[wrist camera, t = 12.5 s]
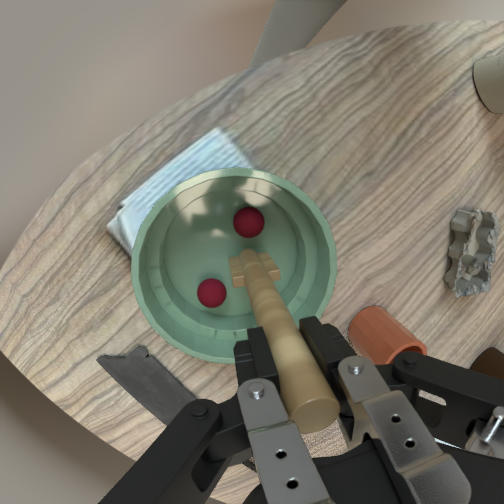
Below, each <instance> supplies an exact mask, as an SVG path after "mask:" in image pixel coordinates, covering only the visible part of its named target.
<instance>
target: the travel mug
mask: <svg viewBox="0 0 504 504" xmlns="http://www.w3.org/2000/svg"><path fill="white" fill-rule="evenodd" d="M473 74H474V81H475V85H476V88H477V91H478V93H479V95H480V97H481V99H482V101H483V103H484V104H485V106H486V107H487V108H488V109H489V110H490V111H491V112H493V113H495V114H501V113H504V54H501V55H497V56H493V57H488V58H484V59H480V60H477V61H476V62H475V65H474V70H473Z"/></svg>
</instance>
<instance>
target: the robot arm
mask: <svg viewBox="0 0 504 504" xmlns="http://www.w3.org/2000/svg"><path fill="white" fill-rule="evenodd" d="M246 330H247V336H248V340H243V341H237V342H236V344H235V346H234V348H233V352H234V359H235V366H236V372H237V379H238V390H237V393H236V394H235V395H234V396H233V397H232V398H231V399H229V400H227V401H225V402H223V403H220V404H217V403H215V402H214V401H212V400H208V399H198V400H194V401H191V402H189V403H188V404H186V405H185V406H184V407H183V408H182V409H181V411H180V412H179V413H178V414H177V415H176V417H175V418H174V419H173V420H172V421H171V423H170V424H169V425H168V426H167V427H166V428H165V430H164V431H163V432H162V433H161V434H160V435H159V437H158V438H157V439H156V440H155V441H154V442H153V443H152V445H151V446H150V447H149V448H148V449H147V450H146V452H145V453H144V454H143V455H142V456H141V457H140V458H139V459H138V461H137V462H136V463H135V464H134V465H133V466H132V467H131V469H130V470H129V471H128V472H127V473H126V474H125V475H124V476H123V477H122V478H121V480H120V481H119V482H118V483H117V484H116V485H115V486H114V487H113V488H112V489H111V490H110V491H109V492H108V493H107V495H106V496H105V497H104V498H103V499H102V500H101V501H100V502H99V503H98V504H204V503H205V502H206V500H207V499H208V497H209V496H210V494H211V493H212V491H213V490H214V488H215V487H216V485H217V483H218V482H219V480H220V479H221V477H222V475H223V474H224V472H225V470H226V469H227V467H228V466H229V464H230V462H231V461H232V459H233V455H235V454H237V453H240V452H242V451H244V450H247V449H249V448H251V452H252V456H253V459H254V463H255V466H256V470H257V473H258V477H259V480H260V484H259V485H258V486H256V487H255V488H254V489H253V490H252V492H251V493H250V494H249V495H248V497H247V498H246V499H245V501H244V502H243V504H504V380H501V379H498V378H495V377H492V376H488V375H485V374H482V373H479V372H475V371H472V370H469V369H466V368H463V367H460V366H457V365H454V364H451V363H448V362H445V361H442V360H439V359H436V358H433V357H430V356H427V355H424V354H421V353H418V352H414V351H405V352H401V353H399V354H398V355H396V356H395V358H394V361H393V364H382V365H374V364H373V363H372V361H371V360H370V359H368V358H366V357H363V356H358V355H357V354H356V353H355V351H354V350H353V349H352V347H351V346H350V345H349V343H348V342H347V341H346V340H345V338H344V337H343V336H342V335H341V333H340V332H339V330H338V329H337V328H336V327H334V326H332V325H330V324H329V323H327V324H323V325H322V324H321V323H320V321H319V320H318V318H317V317H316V316H311V317H306V318H301V319H299V330H300V332H301V334H302V336H303V337H304V339H305V341H306V343H307V345H308V347H309V348H310V350H311V352H312V354H313V356H314V358H315V360H316V361H317V363H318V365H319V367H320V369H321V371H322V372H323V374H324V376H325V378H326V380H327V382H328V383H329V385H330V387H331V389H332V391H333V393H334V394H335V396H336V398H337V400H338V402H339V404H340V413H339V416H338V417H337V421H338V424H339V426H340V429H341V432H342V434H343V437H344V439H345V442H346V444H347V447H348V452H346V453H344V454H342V455H339V456H331V457H318V458H311V456H310V454H309V451H308V449H307V447H306V445H305V443H304V441H303V439H302V436H301V434H300V432H299V430H298V428H297V425H296V423H295V422H294V420H290V419H289V417H288V415H287V413H286V410H285V408H284V406H283V403H282V401H281V399H280V393H281V392H280V382H279V374H278V371H277V368H276V365H275V362H274V359H273V356H272V353H271V350H270V347H269V344H268V341H267V338H266V335H265V332H264V329H263V327H262V326H260V327H254V328H249V329H246ZM420 390H423V391H425V392H428V393H431V394H433V395H436V396H438V397H441V398H443V399H444V400H445V401H446V406H444V405H441V404H438V403H436V402H433V401H430V400H428V399H425V398H423V397H420V396H418V395H419V392H420ZM433 437H434V438H437V439H439V440H441V441H444V442H446V443H449V444H451V445H454V446H456V447H459V448H456V447H452V446H449V445H445V444H442V443H439V442H436V441H435V439H434V438H433ZM460 448H462V449H460ZM463 449H464V450H463Z"/></svg>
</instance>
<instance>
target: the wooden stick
mask: <svg viewBox="0 0 504 504" xmlns="http://www.w3.org/2000/svg"><path fill="white" fill-rule="evenodd" d="M228 262H229V267H230V273H231V278H232V283H233V287H234V288H237V287H243V286H245V287H246V290H247V293H248V297H249V300H250V303H251V307H252V310H253V313H254V316H255V320H256V323H257V326H258V327H260V326H262V327H263V329H264V332H265V335H266V338H267V341H268V344H269V347H270V350H271V353H272V356H273V359H274V362H275V365H276V368H277V371H278V374H279V382H280V392H281V393H280V399H281V401H282V403H283V406H284V408H285V410H286V413H287V415H288V417H289V419H290V420H294V422H295V423H296V425H297V428H298V430H299V432H300V433H302V434H308V433H314V432H318V431H320V430H323V429H325V428H326V427H328V426H329V425H331V424H332V423H333V422H334V421H335V420H336V419H337V417H338V416H339V413H340V404H339V402H338V400H337V398H336V396H335V394H334V393H333V391H332V389H331V387H330V385H329V383H328V382H327V380H326V378H325V376H324V374H323V372H322V371H321V369H320V367H319V365H318V363H317V361H316V360H315V358H314V356H313V354H312V352H311V350H310V348H309V347H308V345H307V343H306V341H305V339H304V337H303V336H302V334H301V332H300V330H299V328H298V327H297V325H296V323H295V321H294V319H293V317H292V316H291V314H290V312H289V310H288V308H287V306H286V305H285V303H284V301H283V299H282V297H281V295H280V294H279V292H278V290H277V288H276V286H275V284H274V283H273V281H278V280H281V276H280V270H279V268H278V267H277V265H276V264H275V262H274V261H273V259H272V258H271V256H270V255H269V254H268V252H267V251H266V252H260V253H257V252H256V251H255V250H253V249H244V250H242V251H241V252H240V254H239V255H238V256H235V257H229V258H228Z"/></svg>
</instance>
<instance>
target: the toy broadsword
mask: <svg viewBox="0 0 504 504" xmlns="http://www.w3.org/2000/svg"><path fill="white" fill-rule="evenodd" d="M147 354H148V351H147V350H146V349H145V348H144V346H143V347H140V346H139V347H138V348H136V349H135V350H134V351H133V352H132V353H131V354H130V355H128V356H127V357H124V356H113V357H112V356H108V355H104V356H102V357H99V358H98V359H97V360H96V361H97V362H98V363H99V364H100V365H101V366H102V367H103V368H104V369H105V370H106V371H107V372H108V373H109V374H110V375H111V376H112V377H113V378H114V379H115V380H116V381H117V382H118V383H119V384H120V385H121V386H122V387H123V388H124V389H125V390H126V391H127V392H128V393H130V394H131V395H132V396H133V397H134V398H135V399H136V400H137V401H138V402H139V403H141V404H142V405H143V406H144V407H145V408H146V409H147V410H149V411H150V412H151V413H152V414H153V415H154V416H156V417H157V418H158V419H159V420H160V421H162V422H163V423H164V424H165V425H167V426H168V425H169V424H170V423H171V421H172V420H173V419H174V418H175V417H176V415H177V414H178V413H179V412H180V411H181V409H182V408H183V407H184V406H185V405H186V404H188V403H189V402H191V401H194V400H197V399H196V398H195V397H194V396H193V395H192V394H190V393H189V392H188V391H187V390H186V389H185V388H184V387H183V386H182V385H181V384H180V383H179V382H178V381H177V380H176V379H175V378H174V377H173V376H172V375H171V374H170V373H169V372H168V371H167V370H166V369H165V368H164V367H163V366H162V365H161V364H160V363H159V362H158V361H157V360H156V359H155V358H154V357H153V356H147ZM251 457H253V456H252V452H251V448H249V449H247V450H244V451H242V452H240V453H237V454H235V455H233V459H232V461H231V462H230V464H229V466H233V465H237V464H240V463H242V464H244V465H245V466H247V467H248V468H250V469H251V470H253V471H255V472H256V473H257V470H256V466H255V465H254V464H253V463H251V462H250V461H248V459H249V458H251ZM229 466H228V467H229Z"/></svg>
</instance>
